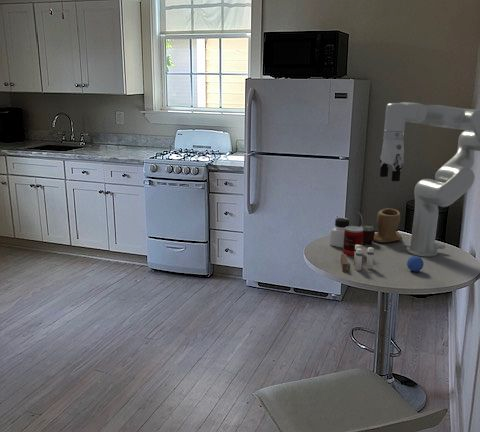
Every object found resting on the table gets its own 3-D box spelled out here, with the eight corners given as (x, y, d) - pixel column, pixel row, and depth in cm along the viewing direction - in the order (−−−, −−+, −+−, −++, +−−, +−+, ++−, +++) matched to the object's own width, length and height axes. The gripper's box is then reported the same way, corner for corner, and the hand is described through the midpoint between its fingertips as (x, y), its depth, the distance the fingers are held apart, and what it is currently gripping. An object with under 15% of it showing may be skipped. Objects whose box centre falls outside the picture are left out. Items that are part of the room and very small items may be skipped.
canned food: (360, 251, 218) (362, 226, 215) (362, 257, 210) (364, 231, 207) (341, 250, 218) (343, 225, 216) (343, 256, 211) (345, 230, 208)
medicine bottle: (345, 248, 221) (347, 221, 218) (329, 245, 224) (331, 219, 221) (350, 244, 227) (353, 218, 224) (335, 241, 230) (337, 215, 227)
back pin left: (359, 268, 197) (361, 248, 195) (362, 270, 194) (363, 250, 192) (353, 268, 196) (355, 248, 194) (355, 270, 194) (357, 250, 192)
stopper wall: (345, 261, 204) (346, 254, 203) (347, 271, 193) (348, 264, 192) (340, 260, 204) (341, 253, 204) (342, 271, 193) (343, 263, 192)
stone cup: (382, 246, 225) (385, 213, 222) (365, 238, 236) (368, 207, 232) (409, 243, 231) (413, 211, 227) (392, 236, 242) (395, 205, 238)
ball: (418, 268, 199) (419, 253, 197) (425, 273, 193) (427, 258, 191) (403, 268, 198) (405, 253, 196) (410, 274, 192) (412, 259, 191)
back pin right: (358, 263, 202) (360, 244, 200) (360, 266, 199) (362, 246, 197) (352, 263, 201) (354, 244, 199) (354, 266, 199) (356, 246, 197)
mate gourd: (375, 242, 230) (378, 210, 227) (370, 246, 224) (373, 213, 220) (359, 239, 234) (362, 207, 231) (353, 243, 228) (356, 211, 224)
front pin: (370, 266, 199) (372, 247, 197) (373, 269, 196) (375, 249, 194) (364, 266, 198) (366, 247, 196) (367, 269, 196) (369, 249, 194)
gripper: (414, 137, 191) (409, 182, 195) (391, 133, 207) (387, 175, 212) (395, 137, 190) (391, 183, 194) (374, 133, 206) (371, 175, 210)
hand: (389, 178), depth 203 cm, fingers open, 9 cm apart
